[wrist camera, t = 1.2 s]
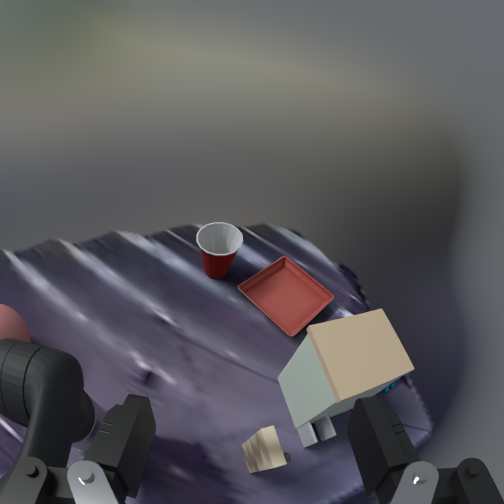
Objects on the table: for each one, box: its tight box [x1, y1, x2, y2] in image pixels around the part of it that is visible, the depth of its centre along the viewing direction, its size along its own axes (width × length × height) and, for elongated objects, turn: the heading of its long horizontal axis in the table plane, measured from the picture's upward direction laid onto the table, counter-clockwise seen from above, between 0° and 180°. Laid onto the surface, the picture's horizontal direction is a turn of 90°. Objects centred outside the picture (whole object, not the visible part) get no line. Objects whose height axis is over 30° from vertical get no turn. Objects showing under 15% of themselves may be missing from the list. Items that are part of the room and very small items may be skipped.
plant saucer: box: [238, 256, 334, 337], centre depth 73 cm, size 18×18×3 cm
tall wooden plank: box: [241, 426, 291, 473], centre depth 39 cm, size 6×3×18 cm, turn 16°
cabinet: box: [278, 309, 414, 448], centre depth 48 cm, size 17×15×21 cm
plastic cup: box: [197, 222, 243, 279], centre depth 72 cm, size 11×11×12 cm
